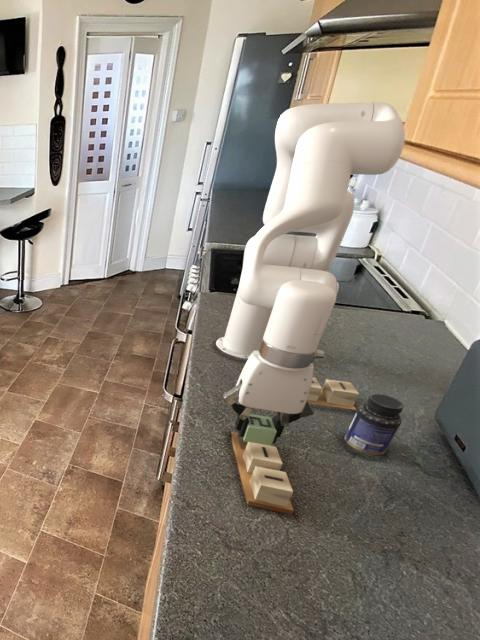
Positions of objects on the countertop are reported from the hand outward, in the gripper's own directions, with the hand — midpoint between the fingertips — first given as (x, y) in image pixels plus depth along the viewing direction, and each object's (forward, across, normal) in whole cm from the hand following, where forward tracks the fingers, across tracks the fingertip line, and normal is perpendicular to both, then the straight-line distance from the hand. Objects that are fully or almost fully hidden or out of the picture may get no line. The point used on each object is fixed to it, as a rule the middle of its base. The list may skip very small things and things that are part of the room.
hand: (255, 434), depth 82 cm
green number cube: (+1, 0, 0) cm, 1 cm away
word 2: (+3, -14, -22) cm, 26 cm away
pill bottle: (+4, -20, -7) cm, 21 cm away
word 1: (+3, 0, +6) cm, 7 cm away
